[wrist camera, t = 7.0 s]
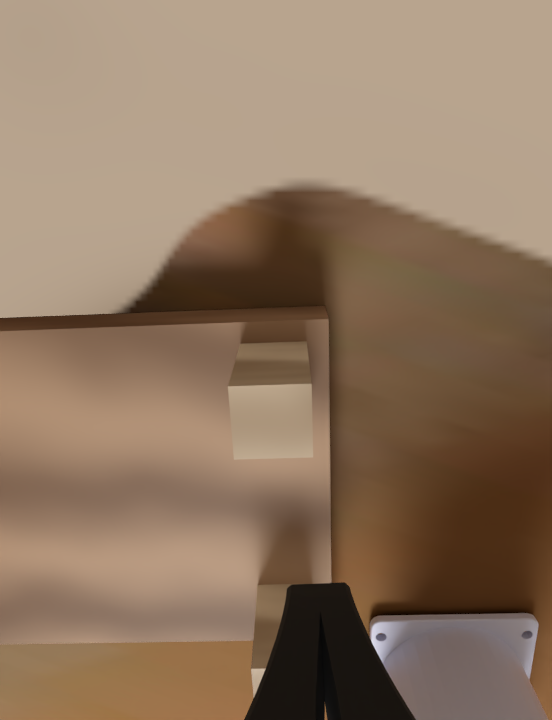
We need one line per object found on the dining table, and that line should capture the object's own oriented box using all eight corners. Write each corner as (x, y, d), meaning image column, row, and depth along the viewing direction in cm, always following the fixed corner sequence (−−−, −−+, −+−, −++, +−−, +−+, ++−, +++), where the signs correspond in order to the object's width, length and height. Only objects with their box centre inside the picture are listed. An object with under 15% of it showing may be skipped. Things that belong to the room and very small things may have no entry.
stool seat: (328, 604, 25) (340, 729, 19) (-56, 610, 26) (-153, 734, 20) (324, 305, 20) (339, 356, 14) (-154, 324, 20) (-322, 379, 15)
